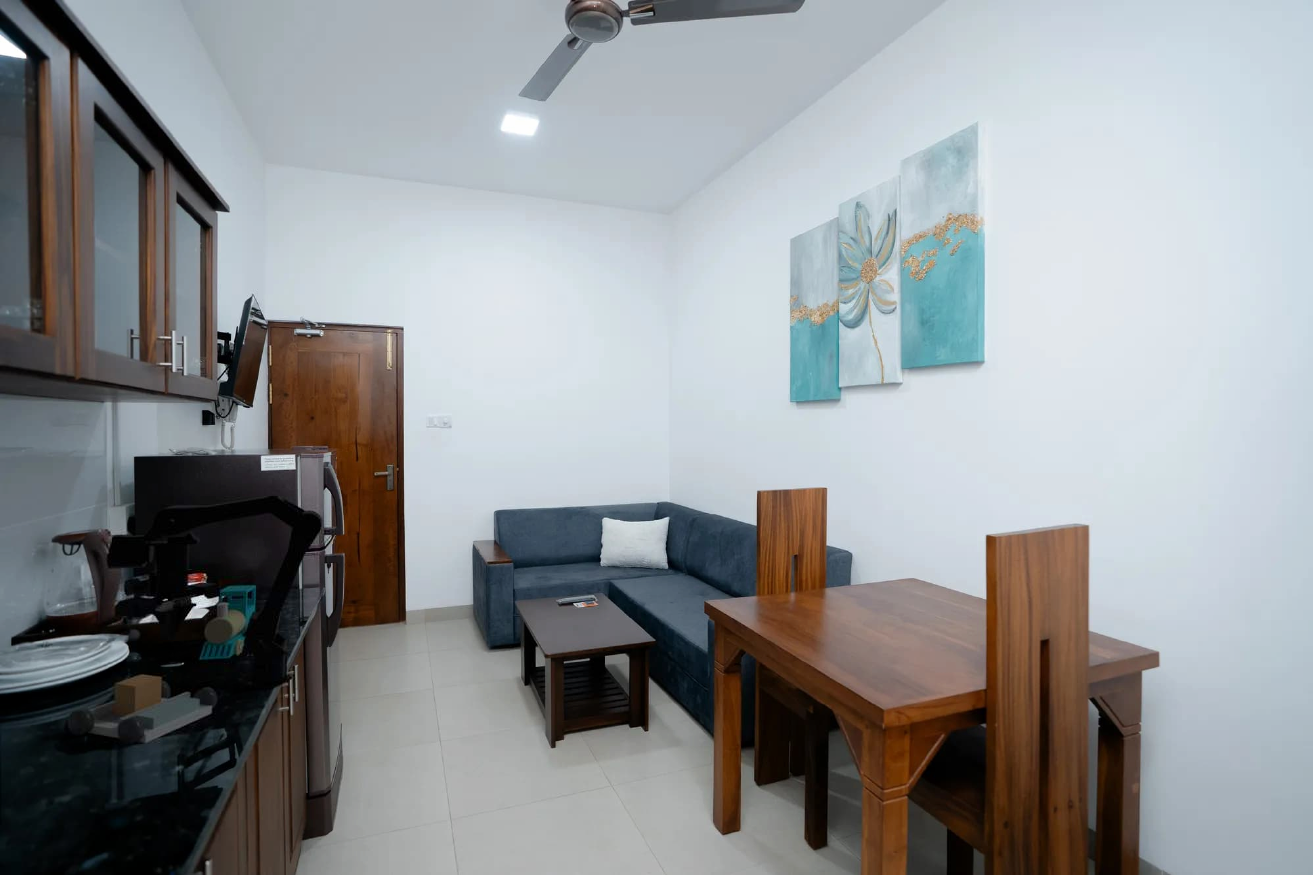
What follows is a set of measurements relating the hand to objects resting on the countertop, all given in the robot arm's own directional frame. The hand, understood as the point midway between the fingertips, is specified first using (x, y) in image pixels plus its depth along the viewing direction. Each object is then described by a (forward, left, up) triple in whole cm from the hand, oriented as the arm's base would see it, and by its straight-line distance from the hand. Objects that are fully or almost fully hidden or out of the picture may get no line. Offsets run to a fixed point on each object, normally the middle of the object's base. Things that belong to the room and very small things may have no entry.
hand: (169, 639), depth 135 cm
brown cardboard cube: (+10, +6, -10) cm, 16 cm away
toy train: (-26, -13, -12) cm, 31 cm away
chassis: (+10, +8, -12) cm, 18 cm away
